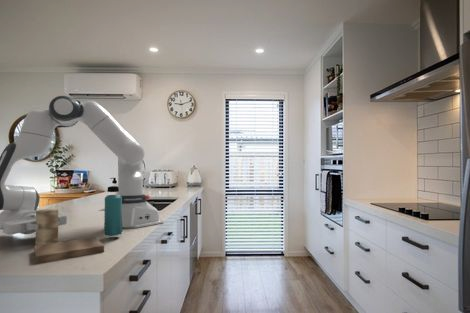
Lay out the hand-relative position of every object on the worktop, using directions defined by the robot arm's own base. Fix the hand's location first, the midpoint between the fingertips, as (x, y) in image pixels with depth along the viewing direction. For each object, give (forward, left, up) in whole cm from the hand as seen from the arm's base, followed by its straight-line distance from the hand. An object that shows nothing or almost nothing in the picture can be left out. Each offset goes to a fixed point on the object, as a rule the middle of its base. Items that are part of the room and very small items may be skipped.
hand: (48, 225), depth 102 cm
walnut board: (-5, +16, -7) cm, 18 cm away
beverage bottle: (-21, +6, -7) cm, 23 cm away
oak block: (0, -1, -7) cm, 7 cm away
